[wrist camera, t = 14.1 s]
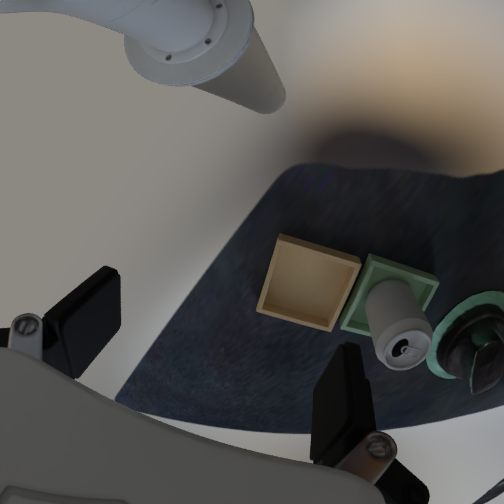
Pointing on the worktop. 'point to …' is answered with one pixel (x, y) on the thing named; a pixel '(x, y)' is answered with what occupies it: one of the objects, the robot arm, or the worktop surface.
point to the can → (397, 325)
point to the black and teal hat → (471, 342)
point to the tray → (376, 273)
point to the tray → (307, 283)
